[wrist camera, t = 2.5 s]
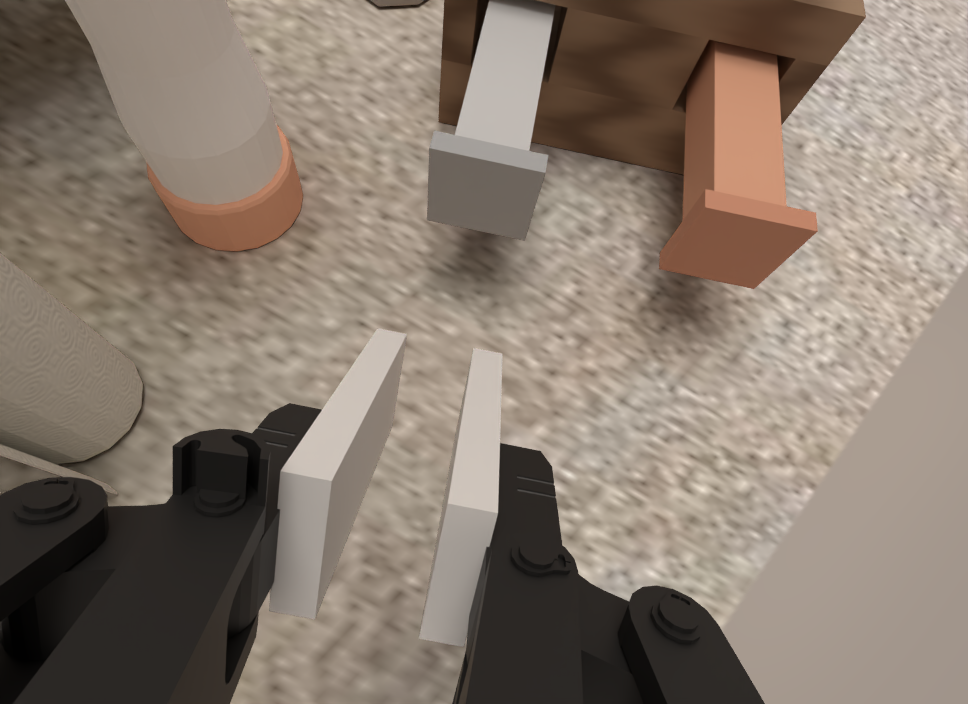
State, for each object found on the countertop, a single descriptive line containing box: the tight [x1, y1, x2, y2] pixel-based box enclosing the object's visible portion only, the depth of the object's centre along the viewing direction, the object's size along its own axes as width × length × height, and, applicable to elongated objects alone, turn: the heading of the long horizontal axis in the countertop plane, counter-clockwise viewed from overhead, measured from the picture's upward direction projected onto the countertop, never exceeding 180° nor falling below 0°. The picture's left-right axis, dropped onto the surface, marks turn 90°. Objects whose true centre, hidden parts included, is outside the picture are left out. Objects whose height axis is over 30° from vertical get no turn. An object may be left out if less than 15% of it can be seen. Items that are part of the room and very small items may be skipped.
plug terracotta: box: [659, 39, 817, 289], centre depth 29 cm, size 5×14×5 cm, turn 170°
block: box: [439, 0, 866, 175], centre depth 34 cm, size 20×10×12 cm, turn 80°
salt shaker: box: [65, 0, 303, 251], centre depth 24 cm, size 7×7×19 cm
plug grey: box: [427, 0, 555, 241], centre depth 29 cm, size 5×14×5 cm, turn 170°
